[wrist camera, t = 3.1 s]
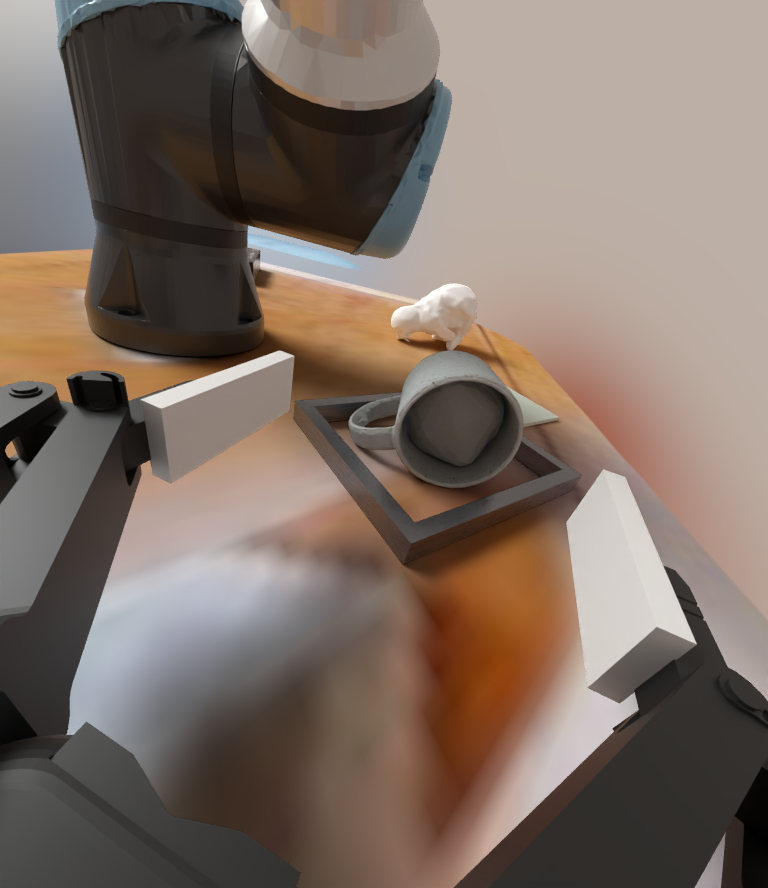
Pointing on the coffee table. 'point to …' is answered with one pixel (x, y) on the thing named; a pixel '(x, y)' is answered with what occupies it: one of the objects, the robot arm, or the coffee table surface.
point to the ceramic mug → (447, 421)
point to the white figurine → (438, 315)
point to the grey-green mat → (533, 411)
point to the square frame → (389, 515)
